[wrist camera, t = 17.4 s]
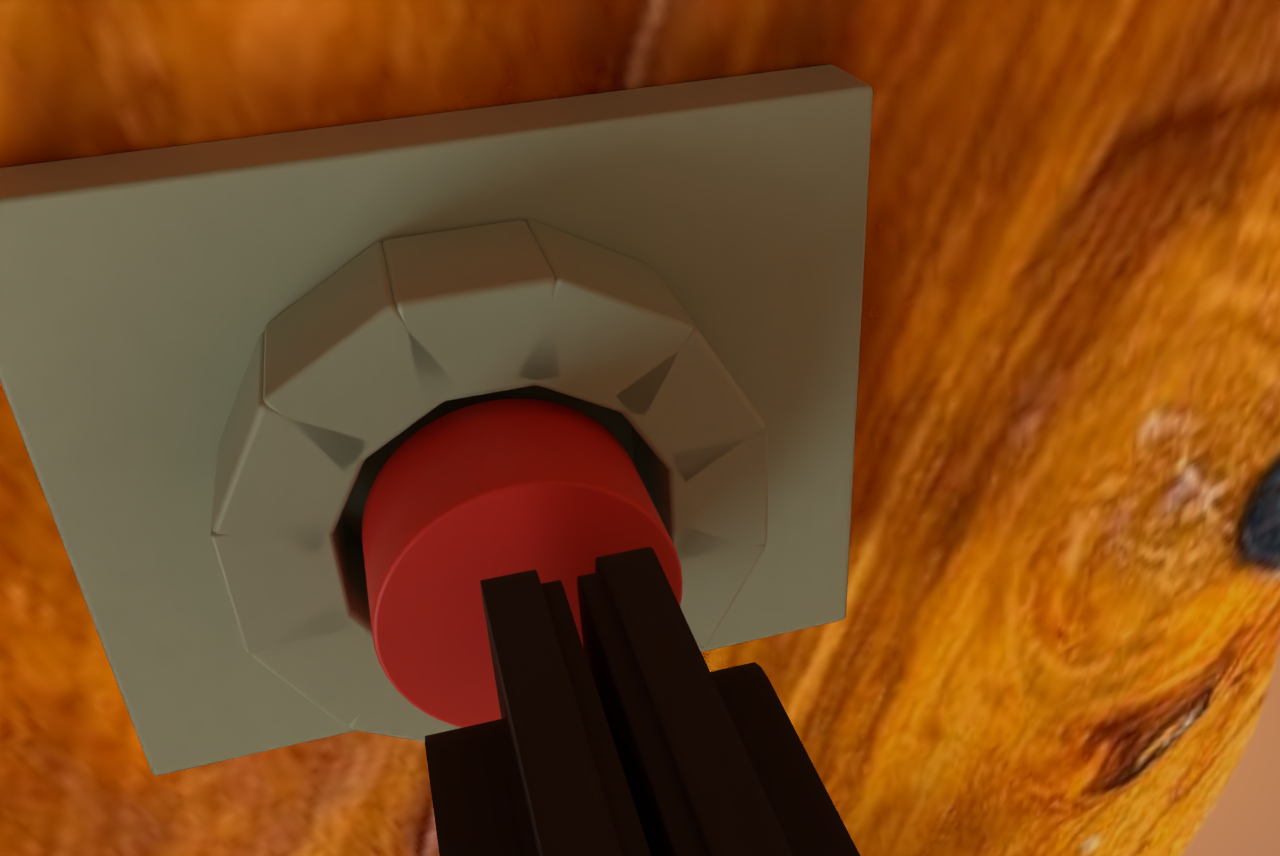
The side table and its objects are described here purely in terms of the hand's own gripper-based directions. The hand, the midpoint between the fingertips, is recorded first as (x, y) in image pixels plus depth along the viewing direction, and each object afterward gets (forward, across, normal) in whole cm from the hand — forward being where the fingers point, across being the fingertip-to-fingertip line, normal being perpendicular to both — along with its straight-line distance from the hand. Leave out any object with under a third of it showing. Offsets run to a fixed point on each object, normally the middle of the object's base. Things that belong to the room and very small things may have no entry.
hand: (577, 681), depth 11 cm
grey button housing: (+5, 0, 0) cm, 5 cm away
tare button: (+3, 0, 0) cm, 3 cm away
